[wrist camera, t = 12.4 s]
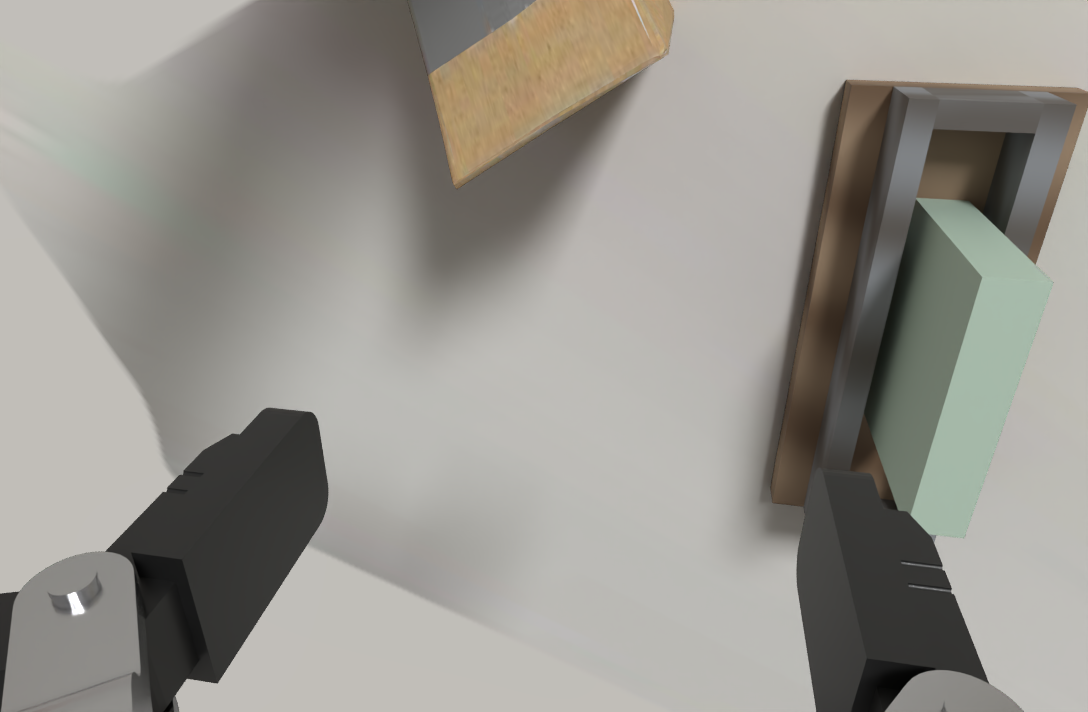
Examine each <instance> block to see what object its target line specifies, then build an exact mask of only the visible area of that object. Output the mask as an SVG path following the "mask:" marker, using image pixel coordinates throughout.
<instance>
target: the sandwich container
mask: <svg viewBox="0 0 1088 712" xmlns="http://www.w3.org/2000/svg"><path fill="white" fill-rule="evenodd" d="M407 2H408V5H409V9H410V12H411V16H412V19H413V23H414V26H415V30H416V34H417V37H418V41H419V45H420V49H421V52H422V56H423V60H424V64H425V68H426V71H427V75H428V79H429V83H430V87H431V91H432V95H433V99H434V103H435V107H436V111H437V115H438V119H439V124H440V128H441V133H442V137H443V142H444V146H445V151H446V155H447V159H448V164H449V168H450V173H451V177H452V182H453V184H454V186H455V187H456V189H458V188H460V187H461V186H463V185H464V184H466V183H467V182H469V181H470V180H472V179H473V178H475V177H477V176H478V175H480V174H481V173H483V172H484V171H486V170H487V169H489V168H490V167H492V166H493V165H495V164H497V163H498V162H500V161H501V160H503V159H504V158H506V157H507V156H509V155H510V154H512V153H513V152H515V151H516V150H518V149H520V148H521V147H523V146H524V145H526V144H527V143H529V142H530V141H532V140H533V139H535V138H536V137H538V136H540V135H541V134H543V133H544V132H546V131H547V130H549V129H550V128H552V127H553V126H555V125H557V124H558V123H560V122H562V121H563V120H565V119H566V118H568V117H570V116H571V115H573V114H574V113H576V112H578V111H579V110H581V109H582V108H584V107H585V106H587V105H589V104H590V103H592V102H593V101H595V100H597V99H598V98H600V97H601V96H603V95H604V94H606V93H608V92H609V91H611V90H612V89H614V88H616V87H617V86H619V85H620V84H622V83H623V82H625V81H627V80H628V79H630V78H631V77H633V76H635V75H636V74H638V73H639V72H641V71H643V70H644V69H646V68H647V67H649V66H650V65H652V64H654V63H655V62H657V61H658V60H660V59H662V58H663V57H665V56H666V55H668V53H669V47H670V40H671V34H672V28H673V21H674V10H673V8H672V6H671V4H670V2H669V0H407Z"/></svg>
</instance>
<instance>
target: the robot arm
mask: <svg viewBox="0 0 1088 712" xmlns="http://www.w3.org/2000/svg"><path fill="white" fill-rule="evenodd" d="M327 502H328V482H327V476H326V469H325V463H324V456H323V450H322V443H321V437H320V431H319V425H318V421H317V418H316V416H315V415H314V414H313V413H312V412H305V411H296V410H286V409H277V408H266V409H264V410H263V411H261V412H260V413H259V414H258V416H257V417H256V418H255V419H254V420H253V421H252V422H251V423H250V424H249V425H248V426H247V427H246V428H245V430H244V431H243V432H242V433H241V434H240V435H239V434H231V435H229V436H228V437H226V438H224V439H222V440H221V441H219V442H217V443H215V444H214V445H212V446H210V447H208V448H207V449H205V450H203V451H202V452H201V453H200V454H199V455H198V456H197V457H196V459H195V460H194V461H193V462H192V463H191V464H190V465H189V466H188V467H187V468H186V469H185V470H184V473H183V475H179V476H178V477H177V478H176V479H175V480H174V481H173V482H172V483H171V484H170V485H169V486H168V488H167V492H163V493H162V494H161V495H160V496H159V497H158V498H157V499H156V500H155V501H154V502H153V503H152V504H151V505H150V506H149V507H148V508H147V509H146V510H145V511H144V512H143V513H142V514H141V515H140V517H138V518H137V519H136V520H135V521H134V523H133V524H132V525H131V526H130V527H129V528H128V529H127V530H126V531H125V532H124V533H123V534H122V535H121V536H120V537H119V538H118V539H117V540H116V541H115V542H114V543H113V544H112V545H111V546H110V547H109V548H108V549H107V550H106V551H105V552H90V553H84V554H80V555H75V556H73V557H69V558H66V559H64V560H62V561H59V562H57V563H55V564H53V565H51V566H49V567H47V568H46V569H44V570H43V571H41V572H39V573H38V574H37V575H36V576H34V577H33V578H32V579H31V580H29V582H27V583H26V584H25V585H24V587H23V588H22V589H21V590H20V592H12V593H2V594H0V712H179V707H178V703H177V700H176V697H175V695H176V693H177V692H178V690H179V689H180V687H181V686H182V685H183V683H184V682H185V680H186V679H193V680H199V681H205V682H211V683H218V682H219V680H220V679H221V677H222V676H223V674H224V673H225V671H226V670H227V668H228V666H229V665H230V663H231V662H232V660H233V659H234V657H235V655H236V654H237V652H238V651H239V649H240V648H241V646H242V645H243V643H244V642H245V640H246V639H247V637H248V635H249V634H250V632H251V631H252V629H253V628H254V626H255V625H256V623H257V621H258V620H259V618H260V617H261V615H262V614H263V612H264V611H265V609H266V608H267V606H268V605H269V603H270V601H271V600H272V598H273V597H274V595H275V594H276V592H277V591H278V589H279V588H280V586H281V584H282V583H283V581H284V580H285V578H286V577H287V575H288V574H289V572H290V570H291V569H292V567H293V566H294V564H295V563H296V561H297V560H298V558H299V556H300V555H301V553H302V552H303V550H304V549H305V547H306V546H307V544H308V543H309V541H310V540H311V538H312V536H313V535H314V533H315V532H316V530H317V529H318V527H319V526H320V524H321V522H322V520H323V517H324V515H325V511H326V508H327ZM942 566H943V565H942V562H941V560H940V557H939V555H938V552H937V550H936V547H935V545H934V542H933V539H932V537H931V536H930V535H929V534H928V533H927V532H926V531H925V530H924V529H923V528H922V527H921V526H920V525H919V524H918V522H917V521H916V520H915V519H914V518H913V517H912V516H911V515H910V514H909V513H908V512H907V511H898V510H890V509H883V505H882V502H881V499H880V496H879V493H878V490H877V487H876V484H875V481H874V478H873V476H872V475H871V474H870V473H863V472H854V471H844V470H835V469H826V468H818V469H817V470H816V472H815V475H814V478H813V482H812V487H811V492H810V496H809V501H808V505H807V510H806V515H805V519H804V524H803V528H802V533H801V538H800V542H799V547H798V555H797V588H798V595H799V602H800V608H801V614H802V621H803V627H804V634H805V640H806V647H807V653H808V660H809V666H810V673H811V679H812V686H813V692H814V699H815V705H816V712H1024V711H1023V710H1022V709H1021V708H1020V707H1019V706H1018V705H1017V704H1016V703H1015V702H1014V701H1013V700H1012V699H1011V698H1009V697H1008V696H1007V695H1006V694H1004V693H1003V692H1001V691H1000V690H998V689H997V688H995V687H994V686H992V685H990V684H989V682H988V680H987V677H986V675H985V672H984V669H983V667H982V664H981V662H980V659H979V657H978V654H977V652H976V649H975V646H974V644H973V641H972V639H971V636H970V634H969V631H968V629H967V626H966V624H965V621H964V618H963V616H962V613H961V611H960V608H959V606H958V603H957V601H956V598H955V596H954V594H952V593H951V589H952V588H951V585H950V583H949V580H948V578H947V575H946V573H945V571H943V570H942Z"/></svg>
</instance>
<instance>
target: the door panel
mask: <svg viewBox="0 0 1088 712" xmlns="http://www.w3.org/2000/svg"><path fill="white" fill-rule="evenodd" d="M1053 283H1054V282H1053V281H1052V280H1051V279H1050V278H1049V277H1048V276H1047V275H1046V274H1045V273H1044V272H1043V271H1041V270H1040V269H1039V268H1038V267H1037V266H1036V265H1035V264H1034V263H1033V262H1032V261H1031V260H1030V259H1029V258H1028V257H1027V256H1026V255H1025V254H1024V253H1023V252H1022V251H1021V250H1020V249H1019V248H1017V247H1016V246H1015V245H1014V244H1013V243H1012V242H1011V241H1010V240H1009V239H1008V238H1007V237H1006V236H1005V235H1004V234H1003V233H1002V232H1001V231H1000V230H999V229H998V228H997V227H996V226H995V225H994V224H992V223H991V222H990V221H989V220H988V219H987V218H986V217H985V216H984V215H983V214H982V213H981V212H980V211H979V210H978V209H977V208H976V207H975V206H974V205H973V204H972V203H971V202H970V201H964V200H946V199H928V198H916V200H915V205H914V209H913V213H912V217H911V221H910V225H909V229H908V233H907V237H906V242H905V246H904V250H903V254H902V258H901V262H900V266H899V270H898V274H897V278H896V283H895V287H894V291H893V295H892V299H891V303H890V307H889V311H888V315H887V319H886V324H885V328H884V332H883V336H882V340H881V344H880V348H879V352H878V356H877V360H876V365H875V369H874V373H873V377H872V381H871V385H870V389H869V393H868V397H867V401H866V406H865V410H864V415H865V418H866V420H867V423H868V426H869V429H870V432H871V435H872V437H873V440H874V443H875V446H876V449H877V452H878V454H879V457H880V460H881V463H882V466H883V469H884V471H885V474H886V477H887V480H888V483H889V486H890V488H891V491H892V494H893V497H894V500H895V503H896V505H897V508H898V511H907V512H908V513H909V514H910V515H911V516H912V517H913V518H914V519H915V520H916V521H917V522H918V524H919V525H920V526H921V527H922V528H923V529H924V530H925V531H926V532H927V533H928V534H931V535H940V536H948V537H957V538H964V537H965V534H966V531H967V529H968V526H969V523H970V520H971V517H972V514H973V511H974V509H975V506H976V503H977V500H978V497H979V494H980V491H981V489H982V486H983V483H984V480H985V477H986V474H987V471H988V469H989V466H990V463H991V460H992V457H993V454H994V451H995V449H996V446H997V443H998V440H999V437H1000V434H1001V431H1002V429H1003V426H1004V423H1005V420H1006V417H1007V414H1008V411H1009V409H1010V406H1011V403H1012V400H1013V397H1014V394H1015V391H1016V389H1017V386H1018V383H1019V380H1020V377H1021V374H1022V371H1023V369H1024V366H1025V363H1026V360H1027V357H1028V354H1029V351H1030V349H1031V346H1032V343H1033V340H1034V337H1035V334H1036V331H1037V329H1038V326H1039V323H1040V320H1041V317H1042V314H1043V311H1044V309H1045V306H1046V303H1047V300H1048V297H1049V294H1050V291H1051V289H1052V286H1053Z"/></svg>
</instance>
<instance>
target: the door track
mask: <svg viewBox="0 0 1088 712" xmlns="http://www.w3.org/2000/svg"><path fill="white" fill-rule="evenodd" d="M1087 108H1088V92H1087V91H1084V90H1082V89H1079V88H1066V87H1037V86H1009V85H980V84H952V83H923V82H895V81H866V80H846V84H845V89H844V95H843V100H842V105H841V111H840V116H839V121H838V127H837V132H836V138H835V143H834V148H833V154H832V159H831V164H830V170H829V175H828V181H827V186H826V191H825V197H824V202H823V208H822V213H821V218H820V224H819V229H818V234H817V240H816V245H815V251H814V256H813V261H812V267H811V272H810V278H809V283H808V288H807V294H806V299H805V304H804V310H803V315H802V321H801V326H800V331H799V337H798V342H797V347H796V353H795V358H794V364H793V369H792V374H791V380H790V385H789V391H788V396H787V401H786V407H785V412H784V417H783V423H782V428H781V434H780V439H779V444H778V450H777V455H776V461H775V466H774V471H773V477H772V482H771V487H770V488H771V495H772V503H777V504H786V505H794V506H803V507H804V512H805V515H806V510H807V505H808V501H809V496H810V492H811V487H812V482H813V478H814V475H815V472H816V470H817V469H818V468H826V469H835V470H844V471H854V472H863V473H870V474H871V475H872V476H873V478H874V481H875V484H876V487H877V490H878V493H879V496H880V499H881V502H882V505H883V509H890V510H898V508H897V505H896V503H895V500H894V497H893V494H892V491H891V488H890V486H889V483H888V480H887V477H886V474H885V471H884V469H883V466H882V463H881V460H880V457H879V454H878V452H877V449H876V446H875V443H874V440H873V437H872V435H871V432H870V429H869V426H868V423H867V420H866V418H865V415H864V410H865V406H866V401H867V397H868V393H869V389H870V385H871V381H872V377H873V373H874V369H875V365H876V360H877V356H878V352H879V348H880V344H881V340H882V336H883V332H884V328H885V324H886V319H887V315H888V311H889V307H890V303H891V299H892V295H893V291H894V287H895V283H896V278H897V274H898V270H899V266H900V262H901V258H902V254H903V250H904V246H905V242H906V237H907V233H908V229H909V225H910V221H911V217H912V213H913V209H914V205H915V200H916V198H928V199H946V200H964V201H970V202H971V203H972V204H973V205H974V206H975V207H976V208H977V209H978V210H979V211H980V212H981V213H982V214H983V215H984V216H985V217H986V218H987V219H988V220H989V221H990V222H991V223H992V224H994V225H995V226H996V227H997V228H998V229H999V230H1000V231H1001V232H1002V233H1003V234H1004V235H1005V236H1006V237H1007V238H1008V239H1009V240H1010V241H1011V242H1012V243H1013V244H1014V245H1015V246H1016V247H1017V248H1019V249H1020V250H1021V251H1022V252H1023V253H1024V254H1025V255H1026V256H1027V257H1028V258H1029V259H1030V260H1031V261H1032V262H1033V263H1034V264H1035V265H1036V262H1037V259H1038V256H1039V253H1040V250H1041V247H1042V244H1043V241H1044V238H1045V235H1046V232H1047V229H1048V226H1049V223H1050V220H1051V217H1052V214H1053V211H1054V208H1055V205H1056V202H1057V199H1058V196H1059V193H1060V190H1061V187H1062V184H1063V181H1064V178H1065V175H1066V172H1067V169H1068V166H1069V163H1070V160H1071V157H1072V154H1073V151H1074V148H1075V145H1076V141H1077V138H1078V135H1079V132H1080V129H1081V126H1082V123H1083V120H1084V117H1085V114H1086V111H1087ZM929 535H930V536H931V537H932V539H933V542H934V541H935V538H936V535H931V534H929Z"/></svg>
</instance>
